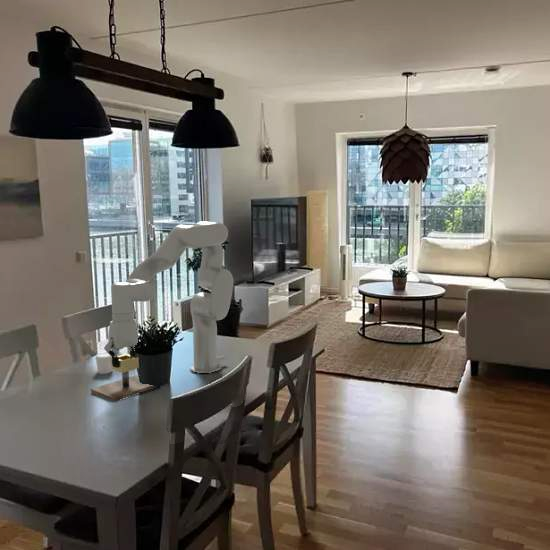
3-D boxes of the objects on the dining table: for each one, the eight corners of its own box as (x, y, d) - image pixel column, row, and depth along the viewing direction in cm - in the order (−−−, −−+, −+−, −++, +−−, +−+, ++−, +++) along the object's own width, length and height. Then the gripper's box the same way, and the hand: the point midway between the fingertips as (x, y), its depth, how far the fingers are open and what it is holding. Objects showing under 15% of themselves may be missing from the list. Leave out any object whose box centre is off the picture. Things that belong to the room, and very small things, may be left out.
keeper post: (126, 384, 209) (125, 362, 208) (130, 385, 208) (129, 364, 206) (121, 385, 207) (120, 364, 206) (125, 387, 206) (124, 365, 205)
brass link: (127, 364, 211) (126, 353, 211) (138, 368, 207) (138, 357, 206) (111, 368, 206) (110, 357, 205) (122, 372, 202) (122, 361, 201)
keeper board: (137, 378, 220) (136, 374, 220) (159, 386, 211) (159, 382, 211) (91, 392, 205) (91, 388, 204) (113, 402, 196) (113, 398, 196)
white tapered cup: (116, 369, 231) (115, 352, 230) (110, 374, 225) (109, 357, 224) (100, 368, 232) (99, 352, 231) (93, 374, 225) (92, 357, 224)
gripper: (136, 311, 213) (138, 357, 215) (95, 319, 199) (97, 368, 202) (149, 314, 208) (150, 361, 210) (108, 322, 195) (110, 372, 197)
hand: (124, 364), depth 206 cm, fingers closed on brass link, 7 cm apart
